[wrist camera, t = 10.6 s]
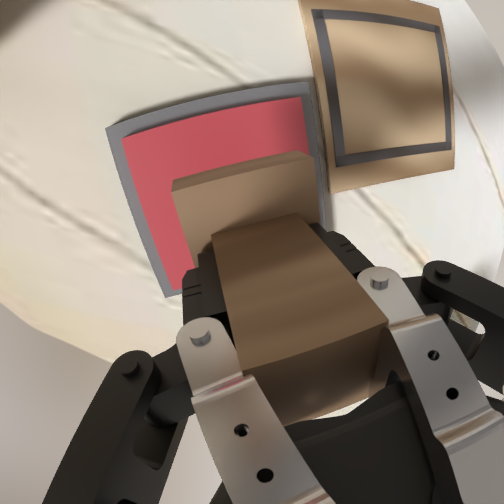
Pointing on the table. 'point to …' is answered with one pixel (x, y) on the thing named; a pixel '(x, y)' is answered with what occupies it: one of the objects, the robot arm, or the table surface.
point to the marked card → (380, 89)
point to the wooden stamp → (282, 284)
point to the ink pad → (203, 158)
